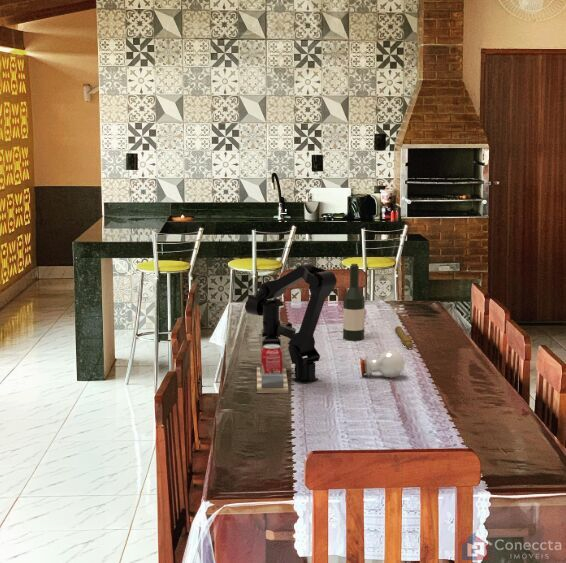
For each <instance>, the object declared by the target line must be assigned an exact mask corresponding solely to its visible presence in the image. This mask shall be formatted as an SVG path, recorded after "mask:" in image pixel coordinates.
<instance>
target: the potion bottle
mask: <svg viewBox="0 0 566 563" xmlns="http://www.w3.org/2000/svg"><path fill="white" fill-rule="evenodd" d="M359 361H360V362H359V363H360V371H361V376H362V377H364V376H365V375H367V377H369V376H371V375H372V373H380V374H381V375H383V376H384V377H385V378H389V377H390V378H389V379H394V378H397V377H398V376H400V375H401V374H402V373H403V371H404V370H405V365H406V361H405V359H404V355H403V354H401V353H400V352H399V351H397V350H393V349H388V350H385V351H383V352H381V353H380V355H379V356H378V358H373V359H371V358H370V357H369V356H367V355H366V356H365V358H364V359H363V358H361V357H360V360H359ZM393 377H394V378H393Z"/></svg>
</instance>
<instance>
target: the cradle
mask: <svg viewBox="0 0 566 563" xmlns="http://www.w3.org/2000/svg"><path fill="white" fill-rule="evenodd" d="M257 393H279V394H289V384H288V376H287V368H286V366H283V374H262V376H261V364H260V365H259V366H256V394H257Z"/></svg>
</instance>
